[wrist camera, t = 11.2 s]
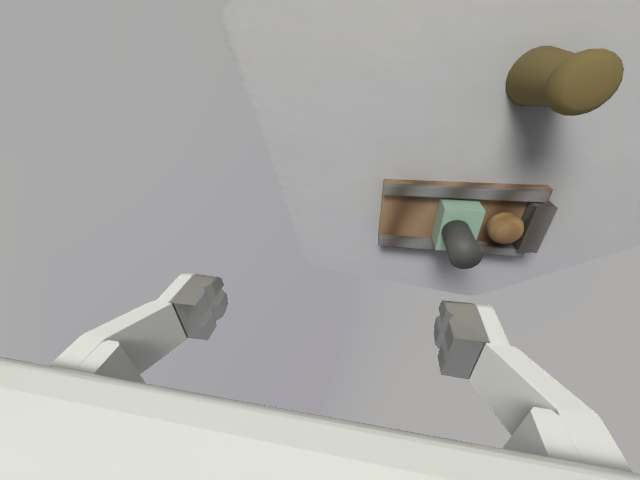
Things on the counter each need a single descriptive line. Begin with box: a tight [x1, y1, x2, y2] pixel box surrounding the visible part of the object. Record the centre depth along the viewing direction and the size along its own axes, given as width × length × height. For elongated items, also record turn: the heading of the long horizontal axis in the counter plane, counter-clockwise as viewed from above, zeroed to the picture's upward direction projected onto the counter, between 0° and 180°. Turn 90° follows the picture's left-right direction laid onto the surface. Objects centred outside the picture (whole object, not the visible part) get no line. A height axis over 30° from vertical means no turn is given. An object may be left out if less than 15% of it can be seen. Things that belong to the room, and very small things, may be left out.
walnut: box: [486, 212, 524, 244], centre depth 39 cm, size 4×4×4 cm
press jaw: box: [431, 197, 486, 269], centre depth 38 cm, size 5×7×10 cm
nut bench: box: [378, 179, 558, 257], centre depth 42 cm, size 22×10×4 cm, turn 91°
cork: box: [506, 46, 624, 116], centre depth 28 cm, size 6×6×11 cm
